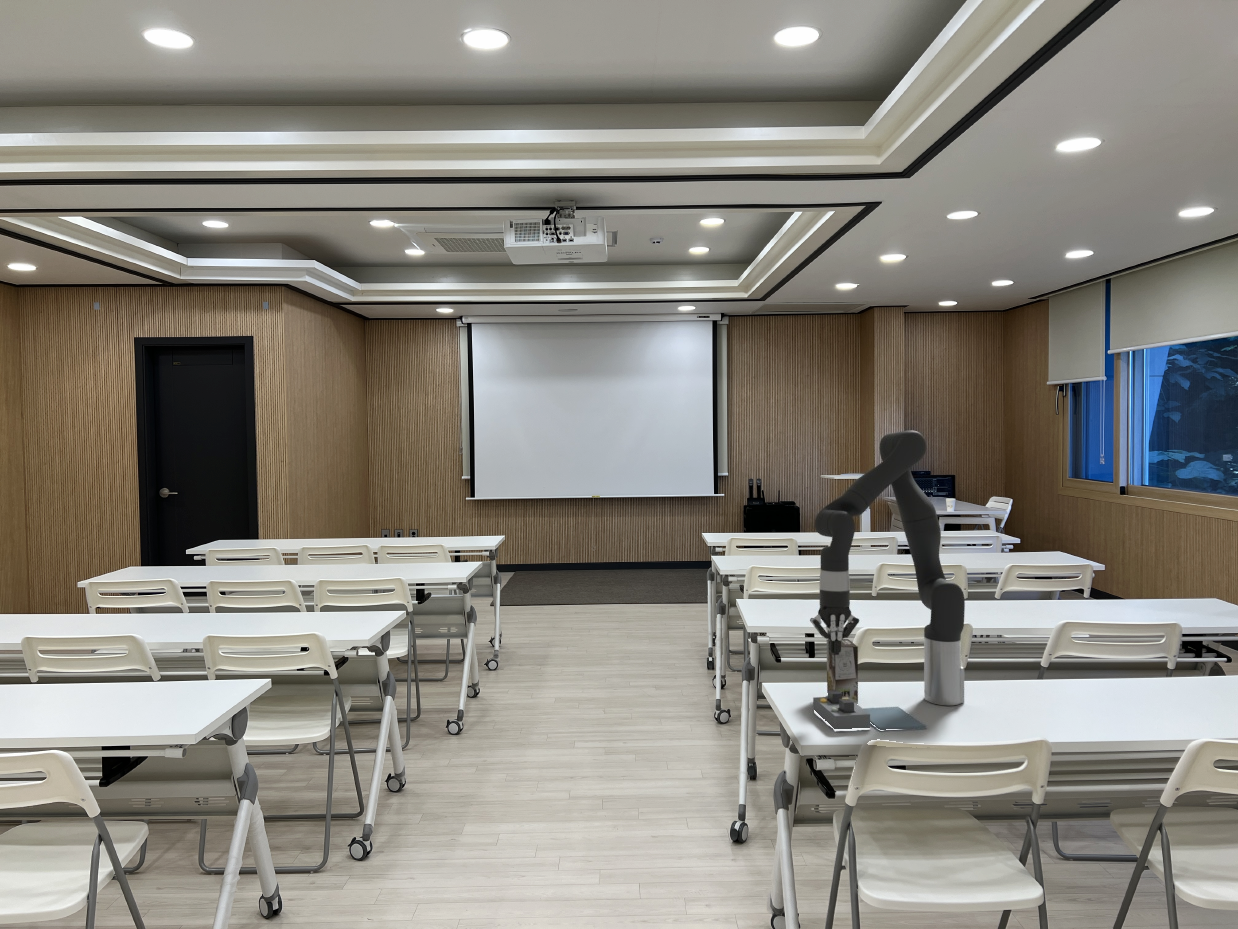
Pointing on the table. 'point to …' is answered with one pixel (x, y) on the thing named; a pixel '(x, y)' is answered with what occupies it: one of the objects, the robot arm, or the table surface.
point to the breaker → (846, 705)
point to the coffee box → (844, 670)
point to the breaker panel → (841, 714)
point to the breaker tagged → (834, 696)
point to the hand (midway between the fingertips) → (834, 654)
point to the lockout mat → (893, 718)
